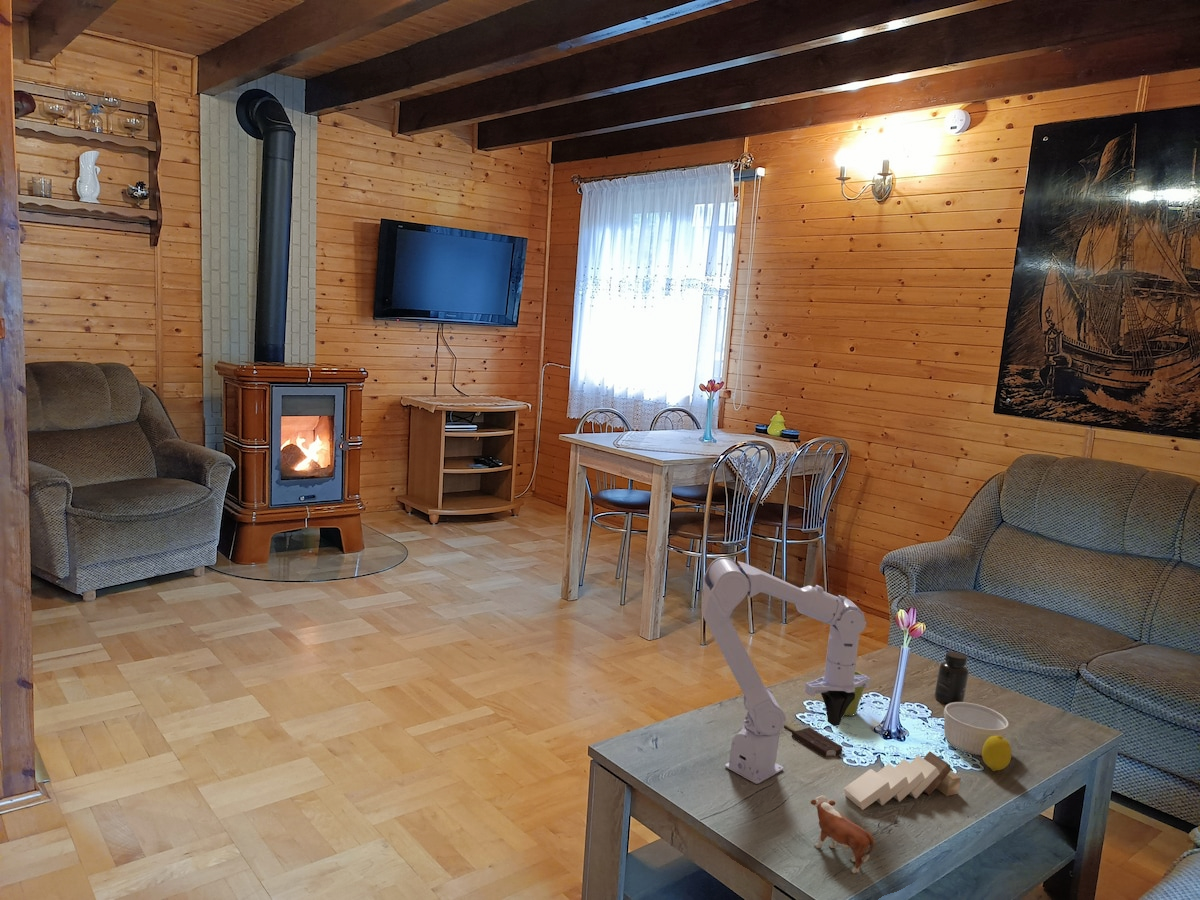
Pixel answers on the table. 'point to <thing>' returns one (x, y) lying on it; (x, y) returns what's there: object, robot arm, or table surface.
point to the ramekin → (972, 725)
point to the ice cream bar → (815, 741)
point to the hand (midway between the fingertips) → (833, 723)
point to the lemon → (996, 752)
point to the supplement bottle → (952, 678)
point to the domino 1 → (867, 789)
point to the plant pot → (854, 704)
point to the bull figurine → (842, 832)
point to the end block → (950, 784)
